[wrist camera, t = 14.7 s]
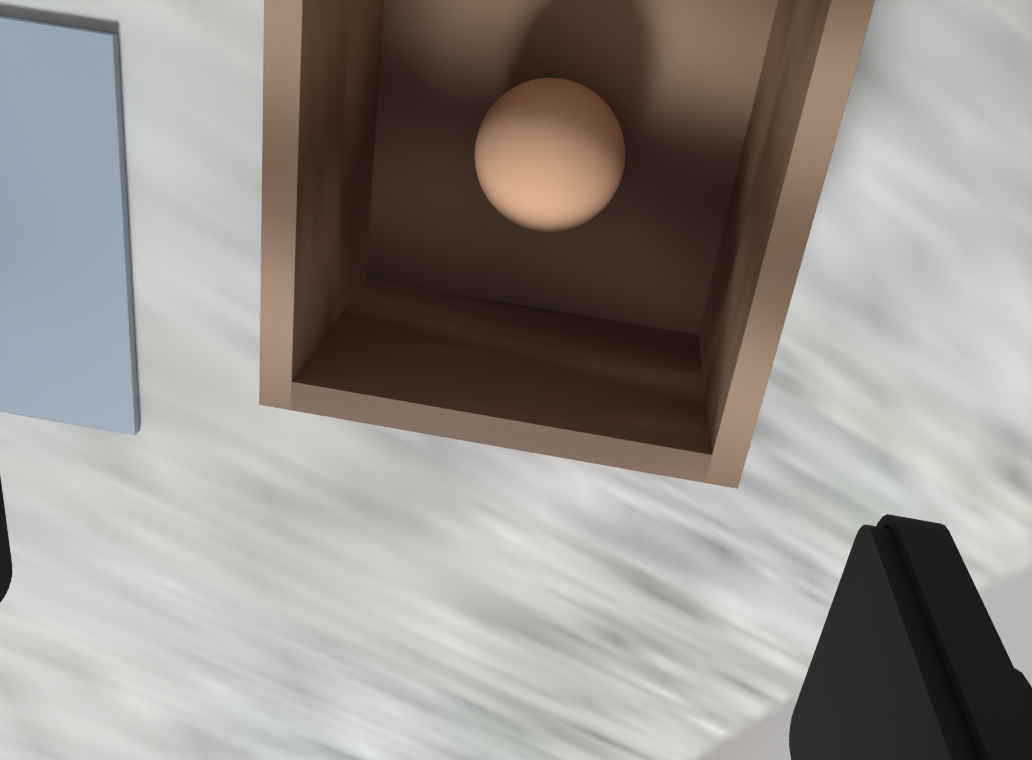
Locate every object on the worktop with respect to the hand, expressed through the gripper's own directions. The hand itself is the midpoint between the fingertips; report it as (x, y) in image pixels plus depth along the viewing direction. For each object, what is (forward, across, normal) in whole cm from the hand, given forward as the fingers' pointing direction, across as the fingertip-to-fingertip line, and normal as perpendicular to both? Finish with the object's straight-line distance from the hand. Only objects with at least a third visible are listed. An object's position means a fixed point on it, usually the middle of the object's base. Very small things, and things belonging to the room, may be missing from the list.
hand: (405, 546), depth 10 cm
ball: (+20, 0, 0) cm, 20 cm away
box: (+20, 0, 0) cm, 20 cm away
